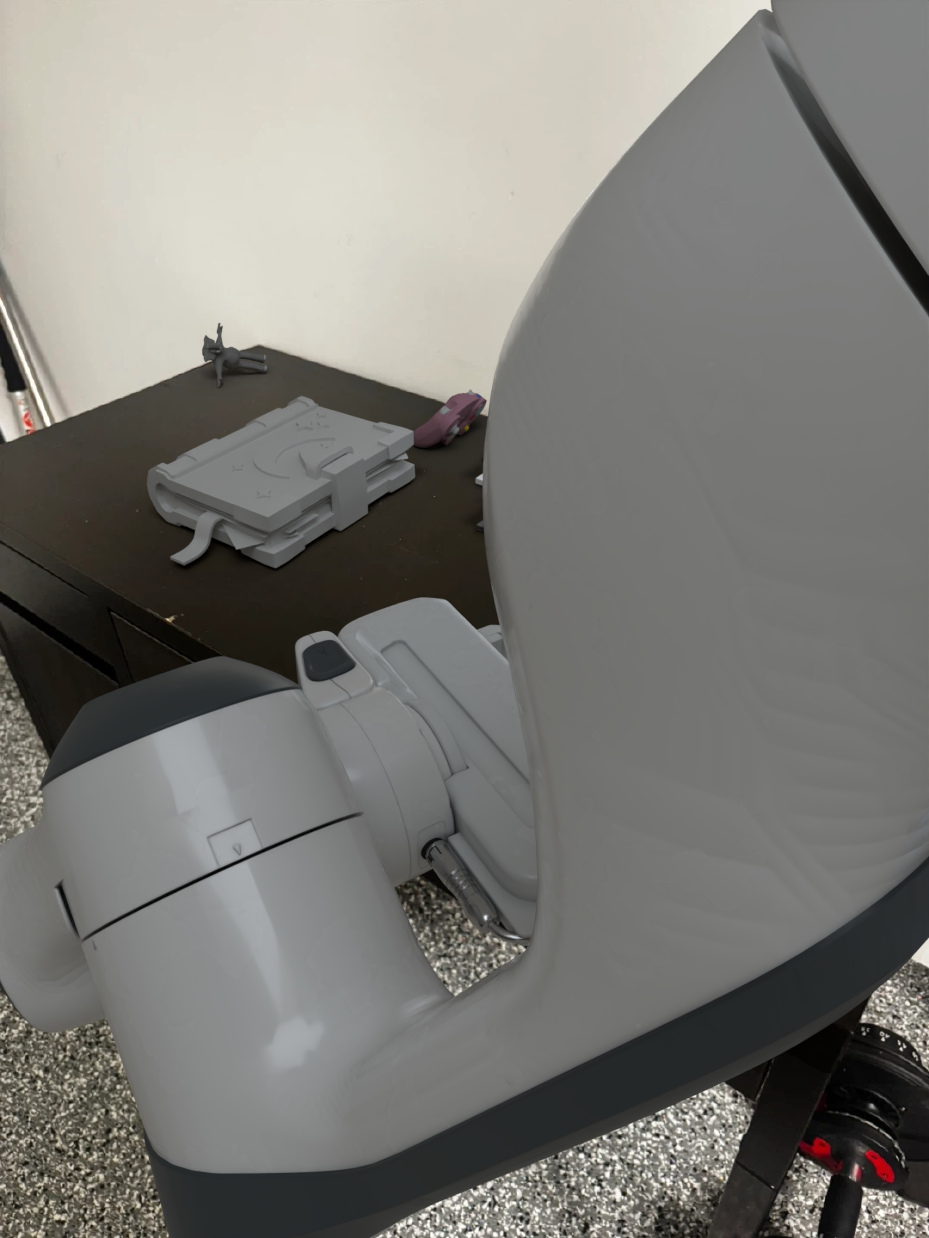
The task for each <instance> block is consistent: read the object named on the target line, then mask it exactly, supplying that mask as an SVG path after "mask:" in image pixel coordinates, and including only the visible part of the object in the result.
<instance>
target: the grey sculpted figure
mask: <svg viewBox="0 0 929 1238" xmlns="http://www.w3.org/2000/svg"><path fill="white" fill-rule="evenodd" d="M223 327H224V326H223V325H221V322H218V323H217V327H216V328H217V329H216V334H217V337H216V340H214V339H213V338H210V337H209V336H208V335H207V334H205V335H204V337H203V346H202V349H201V355H202V356H203V361H204V363H207V362H209V361H210V362H212V364H213V365H214V371H215V372H216V384H217V388H218V389H219V388H221V383H222V381H223V380H224V378H223V376H222V375H223V367H224V368H227V369H228V370H230V371H236V370H238V369H244V370H250V371H254V372H257V373H260V374H265V373H266V372H267V370H268V365H266V364H264V363H265V362H266V361H267V360H266V359H267V355H266V354H261V353H259V354H258V353H253V352H248V351H246V350H245V351H244V350H239V349H237V348H236V347H234V346H229V347H225V346H224V343H223V337H222V334H223ZM246 360H247V361H246ZM251 361H252V362H251ZM255 362H257V363H255Z"/></svg>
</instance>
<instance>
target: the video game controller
mask: <svg viewBox="0 0 929 1238" xmlns="http://www.w3.org/2000/svg"><path fill="white" fill-rule="evenodd" d="M486 405H487V399H486V398H485V397H483V396H482V395H481V394H479V393H478V392H473V390H472V389H471V388H470V389H469V390H468V392H459V393H456V394H453V395H451V396H450V397H449V398H448V399H447V401H446V402H445V404H444V405H443V406H441V407H440V408H439V409H438V410H437V411H436V412H435V413H434V415H433V416H432V417H431V418H430V419H429V420H428V421H427V422H425V423H424V424H422V425H420V426H419V427H417V428H416V429H415V430H413V431H414V445H413V446H414V447H416V448H421V449H422V448H423V449H427V448H431V447H432V446H434V445H436V444H438V443H440V442H441V443H442V444H444V445H445V446H448V445H449V444H450V443H451V442H452V441H453V440H454V438H455V437H456V436H457V435H458V436H462V435H463V434H464V433H466V432H468V431H469V429H470V426H471V425H472V423H473V422H474V421H475V420H476V419H477V417H478V416H480V414H481V413H482V411H483V410H484V409H485V407H486Z"/></svg>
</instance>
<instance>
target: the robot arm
mask: <svg viewBox="0 0 929 1238" xmlns="http://www.w3.org/2000/svg"><path fill="white" fill-rule="evenodd" d="M770 7H771V10H769V9H767V8H762V9H758V10H757V11H756V12H755V13H754V14H753V15H752V16H751V18H750V19H749V20H748V21H746V23H745V24H744V25H743V26H742V27H741V28H740V29H739V30H738V31H737V33H735V34H734V36H733V37H731V39H730V40H728V42H727V43H726V44H725V45H724V46H723V47H722V49H721V50H720V51H719V52H718V53H716V55H715V56H714V57H712V58H711V60H710V61H708V63H707V64H706V65H705V66H704V67H703V68H702V69H701V70H700V71H699V72H698V73H697V74H696V76H694V78H693V79H692V80H690V82H688V84H687V85H686V86H685V87H684V88H683V89H682V90H681V91H679V93H678V94H677V95H676V96H675V97H674V98H673V99H672V100H671V101H670V102H669V103H668V105H667V106H665V108H663V110H661V112H659V114H658V115H657V116H656V117H655V118H654V119H653V120H652V122H651V123H650V124H649V125H648V126H647V127H646V128H645V129H643V131H642V132H641V134H639V135H638V137H637V138H636V139H635V140H634V141H633V142H632V143H631V145H630V146H629V147H628V148H627V149H626V150H625V152H623V154H622V155H620V157H619V158H618V159H617V160H616V162H615V163H614V164H613V165H612V167H610V169H609V170H608V171H607V172H606V174H605V175H604V176H603V177H602V178H601V180H600V181H599V182H598V184H596V186H595V187H594V188H593V190H592V191H591V192H590V194H589V195H588V196H587V197H586V199H585V200H584V201H583V202H582V204H581V205H580V207H579V208H578V209H577V210H576V212H575V214H574V215H573V217H571V218H570V220H569V222H568V223H567V225H566V227H565V228H564V229H563V231H562V232H561V234H560V235H559V236H558V238H557V240H556V241H555V243H554V244H553V246H552V248H551V250H550V251H549V252H548V254H547V256H546V257H545V259H544V261H543V262H542V264H541V266H540V268H539V270H537V272H536V275H535V277H534V278H533V280H532V281H531V283H530V285H529V287H528V289H527V291H526V292H525V295H524V296H523V298H522V300H521V302H520V304H519V306H518V308H517V309H516V312H515V314H514V315H513V318H512V319H511V322H510V325H509V327H508V329H507V332H506V335H505V338H504V340H503V342H502V346H501V349H500V352H499V355H498V359H497V362H496V366H495V371H494V374H493V381H492V386H491V391H490V397H489V403H488V411H487V412H488V413H487V418H486V419H487V420H486V427H485V434H484V444H483V457H482V458H483V461H482V474H483V486H482V490H481V491H482V520H483V524H484V530H483V531H484V533H483V537H484V546H485V555H486V556H485V557H486V562H487V569H488V575H489V580H490V585H491V591H492V595H493V601H494V606H495V610H496V614H497V619H498V623H499V624H489V625H486V626H484V627H481V628H478V629H476V628H475V626H473V625H472V624H471V622H469V621H468V619H466V618H465V616H464V615H462V614H461V613H460V612H459V611H458V610H457V609H456V608H455V606H453V604H451V603H450V602H449V601H448V600H446V599H443V598H438V597H437V598H436V597H423V596H422V597H421V596H420V597H416V598H412V599H408V600H406V601H401V602H399V603H395V604H393V605H390V606H387V607H385V608H384V607H383V608H382V609H378V610H375V611H373V612H370V613H368V614H365V615H363V616H360V617H358V618H356V619H355V620H354V619H353V620H352V621H350V622H349V623H347V624H346V625H344V626H343V627H342V628H341V629H340V631H339V632H338V635H336V634H334V633H333V632H332V631H328V630H322V631H316V632H312V633H309V634H307V635H303V636H302V637H300V638H299V639H297V640H296V642H295V645H294V654H295V655H294V656H295V667H296V677H297V683H296V682H294V681H293V680H291V679H289V678H287V677H285V676H284V675H281V674H279V673H277V672H275V671H273V670H270V669H267V668H264V667H262V666H260V665H257V664H253V663H250V662H247V661H243V660H240V659H237V658H236V659H235V658H232V657H229V656H224V655H221V656H214V657H210V658H206V659H202V660H199V661H197V662H193V663H190V664H186V665H183V666H180V667H176V668H174V669H171V670H168V671H166V672H163V673H159V674H156V675H153V676H150V677H148V678H146V679H142V680H139V681H136V682H133V683H131V684H127V685H125V686H123V687H119V688H117V689H115V690H112V691H110V692H106V693H104V694H102V695H100V696H97V697H95V698H93V699H91V700H89V701H88V702H86V703H84V704H83V705H82V706H81V708H80V709H79V711H78V713H77V714H76V716H75V717H74V719H73V720H72V721H71V723H70V725H69V726H68V728H67V729H66V731H65V733H64V734H63V736H62V737H61V739H60V741H59V742H58V744H57V746H56V748H55V749H54V751H53V754H51V758H50V759H49V761H48V764H47V765H46V769H45V771H44V774H43V777H42V779H41V782H40V785H39V790H40V791H41V793H42V802H43V804H42V813H41V816H40V820H39V822H38V823H37V824H36V825H34V826H31V827H30V828H28V829H26V830H24V831H23V832H21V833H18V834H17V835H14V836H13V837H10V838H9V839H7V840H6V841H4V842H2V843H1V844H0V991H1V993H2V994H3V995H5V996H6V998H7V1000H8V1001H9V1003H10V1004H11V1005H12V1007H13V1008H14V1010H15V1011H16V1012H17V1014H18V1015H19V1016H20V1017H21V1018H22V1019H23V1020H24V1021H26V1022H27V1023H28V1024H29V1025H31V1026H32V1027H33V1028H35V1029H37V1030H38V1031H41V1032H44V1033H48V1034H56V1033H62V1032H65V1031H70V1030H74V1029H77V1028H80V1027H83V1026H87V1025H90V1024H92V1023H93V1024H94V1023H96V1022H99V1021H102V1020H105V1019H106V1020H107V1021H106V1022H107V1024H108V1026H109V1030H110V1032H111V1036H112V1038H113V1041H114V1043H115V1047H116V1049H117V1052H118V1056H119V1059H120V1061H121V1064H122V1068H123V1070H124V1073H125V1075H126V1079H127V1082H128V1085H129V1087H130V1090H131V1093H132V1096H133V1099H134V1103H135V1104H136V1108H137V1110H138V1113H139V1116H140V1120H141V1122H142V1125H143V1140H144V1146H145V1148H146V1153H147V1156H148V1162H149V1164H150V1168H151V1172H152V1177H153V1180H154V1185H155V1188H156V1191H157V1196H158V1199H159V1203H160V1208H161V1211H162V1215H163V1218H164V1219H163V1220H164V1222H165V1226H166V1227H165V1228H166V1230H167V1234H168V1237H169V1238H378V1237H379V1236H381V1235H383V1234H384V1233H385V1232H387V1231H388V1230H389V1229H391V1228H392V1227H393V1226H395V1225H396V1224H398V1223H399V1222H401V1221H403V1220H404V1219H407V1218H408V1217H410V1216H412V1215H414V1214H416V1213H418V1212H420V1211H422V1210H424V1209H426V1208H428V1207H431V1206H433V1205H436V1204H438V1203H440V1202H443V1201H445V1200H447V1199H450V1198H453V1197H455V1196H457V1195H460V1194H462V1193H465V1192H467V1191H470V1190H472V1189H474V1188H477V1187H479V1186H481V1185H484V1184H486V1183H489V1182H491V1181H495V1180H496V1179H499V1178H501V1177H502V1178H503V1176H506V1175H509V1174H511V1173H514V1172H517V1171H519V1170H521V1169H523V1168H526V1167H528V1166H531V1165H534V1164H536V1163H539V1162H541V1161H543V1160H545V1159H548V1158H550V1157H554V1156H556V1155H558V1154H560V1153H563V1152H565V1151H569V1150H570V1149H573V1148H576V1147H578V1146H580V1145H582V1144H585V1143H587V1142H590V1141H593V1140H595V1139H598V1138H600V1137H602V1136H605V1135H608V1134H610V1133H612V1132H614V1131H618V1130H620V1129H622V1128H625V1127H626V1126H629V1125H631V1124H634V1123H636V1122H639V1121H641V1120H643V1119H645V1118H647V1117H650V1116H652V1115H655V1114H657V1113H659V1112H661V1111H665V1110H666V1109H668V1108H670V1107H672V1106H675V1105H677V1104H679V1103H681V1102H683V1101H686V1100H688V1099H690V1098H693V1097H695V1096H697V1095H699V1094H702V1093H704V1092H705V1091H708V1090H710V1089H712V1088H714V1087H716V1086H718V1085H721V1084H723V1083H725V1082H727V1081H729V1080H732V1079H733V1078H736V1077H738V1076H741V1074H744V1073H746V1072H748V1071H750V1070H752V1069H754V1068H756V1067H758V1066H760V1065H762V1064H763V1063H766V1062H768V1061H769V1060H771V1059H774V1058H776V1057H777V1056H779V1055H781V1054H784V1053H785V1052H786V1051H789V1050H790V1049H793V1048H794V1047H796V1046H797V1045H800V1044H801V1043H803V1042H804V1041H806V1040H808V1039H809V1038H811V1037H812V1036H815V1034H818V1033H819V1032H821V1031H822V1030H824V1029H826V1028H827V1027H828V1026H830V1025H832V1024H834V1023H835V1022H837V1021H838V1020H839V1019H841V1018H843V1017H844V1016H845V1015H847V1014H848V1013H850V1012H851V1011H852V1010H854V1009H855V1008H856V1007H857V1006H859V1005H860V1004H862V1003H863V1002H865V1000H866V999H867V998H870V996H871V995H872V994H874V993H875V992H876V991H877V990H878V989H880V987H882V986H883V985H884V984H885V983H887V982H888V981H889V980H891V978H892V977H894V976H895V975H896V974H897V973H898V972H899V971H900V970H902V968H903V967H904V966H905V965H906V964H907V963H909V961H910V960H911V959H912V958H913V957H914V956H915V954H916V953H917V952H918V951H919V950H920V949H921V947H922V946H923V945H924V944H925V943H926V942H927V941H928V939H929V0H770ZM431 870H433V871H434V872H435V874H436V875H437V877H438V878H439V879H440V881H441V882H442V884H444V886H445V887H446V888H447V889H448V890H449V892H451V893H452V894H453V896H454V897H455V898H456V899H457V901H458V902H459V903H460V905H461V906H462V911H463V913H464V915H465V917H466V918H467V919H468V921H469V923H471V924H472V926H473V927H474V928H475V929H476V930H477V931H479V932H480V933H481V934H485V935H486V934H489V933H490V934H492V935H493V936H495V937H497V939H500V940H501V941H504V942H507V943H510V944H514V945H515V944H516V945H519V946H521V947H526V948H525V950H524V951H523V952H521V953H520V954H518V955H516V956H515V957H513V958H511V959H510V960H508V961H507V962H505V963H503V964H502V965H501V966H499V967H498V968H497V969H495V970H493V971H492V972H490V973H489V974H487V975H486V976H484V977H482V978H481V979H480V980H478V981H476V982H475V983H473V984H472V985H470V986H468V987H467V988H465V989H464V990H462V991H461V992H459V993H458V994H456V995H454V994H453V993H452V992H451V991H450V989H448V987H447V986H446V984H445V983H444V982H443V981H442V980H441V978H440V977H439V975H438V974H437V972H436V971H435V970H434V968H433V967H432V965H431V963H430V961H429V960H428V958H427V956H426V955H425V953H424V951H423V949H422V946H421V945H420V942H419V941H418V937H417V936H416V934H415V931H414V929H413V927H412V926H413V925H412V923H411V922H410V919H409V917H408V915H407V912H406V910H405V908H404V906H403V903H402V901H401V898H400V896H399V895H398V892H397V889H396V888H397V887H399V886H400V885H403V884H406V883H407V882H410V881H411V880H414V879H415V878H417V877H420V876H421V875H423V874H425V873H427V872H429V871H431ZM500 923H502V925H503V926H504V927H502V926H500Z"/></svg>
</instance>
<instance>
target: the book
mask: <svg viewBox="0 0 929 1238" xmlns="http://www.w3.org/2000/svg"><path fill="white" fill-rule="evenodd" d="M414 431H415V430H412V429H409V428H406V427H403V426H399V425H395V424H391V423H386V422H383V421H379V422H374V421H370V420H367V419H364V418H360V417H357V416H354V415H350V414H347V413H344V412H339V411H337V410H333V409H330V408H326V407H324V406H319V404H318V403H315V401H314V400H313V399H311V398H309V397H307V396H306V397H305V396H303V395H300V396H298V397H296V398H295V399H292V400H291V401H289V402H287V405H286V407H283V408H281V407H277V408H275V409H273V410H271V411H269V412H266V413H265V414H262V415H260V416H259V417H256V418H254V419H252V420H250V421H249V422H246V424H245V426H244V427H242V428H239V429H238V430H236V431H233V432H231V433H229V434H227V435H226V436H223V437H221V438H219V439H218V438H216V437H215V438H213V439H210V440H209V441H206V442H205V443H202V444H200V445H198V446H196V447H194V448H192V449H190V450H188V451H186V452H184V453H182V454H180V455H178V456H177V457H176V460H173V461H172V462H170V463H168V464H167V463H165V462H161V463H159V464H157V465H155V466H153V467H151V468H150V469H148V471H147V478H146V487H147V492H148V496H149V500H151V502H152V505H153V506H154V508H155V510H156V512H157V513H158V514H159V515H160V516H161V517H162V519H164V521H166V522H168V523H169V524H172V525H174V526H177V527H181V526H183V527H187V528H189V529H192V530H194V536H193V539H192V540H191V541H190V543H189V544H188V545H187V546H186V547H185V548H183V549H181V550H179V551H178V552H175V553H174V554H172V555H170V556H169V559H170V560H171V561H174V562H176V563H177V564H180V565H183V566H186V565H188V564H191V563H192V562H194V561H195V560H197V559H199V558H200V557H201V556H202V555H203V554H204V553H205V552H206V551H207V550H208V548H209V546H210V544H211V540H212V538H213V539H215V540H217V541H219V542H222V543H224V544H227V545H229V546H231V547H233V548H235V550H240V552H241V554H243V555H245V556H247V557H249V558H251V559H253V560H255V561H257V562H259V563H261V564H263V565H265V566H269V567H271V568H274V569H277V568H279V567H280V566H282V565H285V564H286V563H287V562H289V561H290V560H292V559H293V558H294V557H296V556H297V555H298V554H300V553H301V552H303V551H304V550H305V549H306V546H307V545H308V544H310V543H311V542H312V541H315V539H317V538H319V537H320V536H322V535H324V534H325V533H326V532H328V531H330V530H331V529H335V530H337V531H339V532H342V531H343V530H345V529H347V528H348V527H350V526H351V525H352V524H354V523H356V522H357V521H358V520H360V519H361V518H363V517H364V516H366V515H368V514H369V505H370V504H371V503H373V502H375V501H376V500H378V499H379V498H381V497H382V496H384V495H385V494H387V493H393V492H395V491H396V490H399V489H400V488H402V487H404V486H405V485H407V484H408V483H410V482H411V481H412V480H414V479H415V478H416V468H415V464H414V463H411V462H409V461H407V460H408V459H409V455H408V454H407V452H406V451H408V450H409V449H410V448H412V447H413V446H415V445H414Z"/></svg>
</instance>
